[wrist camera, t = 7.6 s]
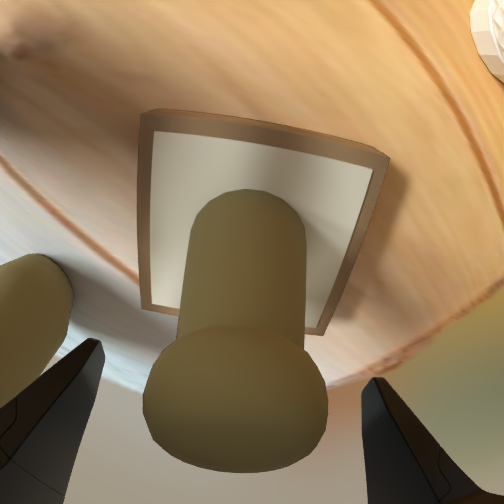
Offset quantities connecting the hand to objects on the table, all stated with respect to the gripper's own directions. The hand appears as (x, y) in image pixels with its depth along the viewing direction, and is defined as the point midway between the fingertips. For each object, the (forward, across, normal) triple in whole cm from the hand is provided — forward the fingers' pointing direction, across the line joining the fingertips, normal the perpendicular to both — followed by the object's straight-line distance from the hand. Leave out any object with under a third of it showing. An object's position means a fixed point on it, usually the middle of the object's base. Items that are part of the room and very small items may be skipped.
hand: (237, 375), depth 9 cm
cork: (+8, 0, 0) cm, 8 cm away
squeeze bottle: (+11, +16, +8) cm, 21 cm away
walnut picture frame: (+11, 0, 0) cm, 11 cm away
